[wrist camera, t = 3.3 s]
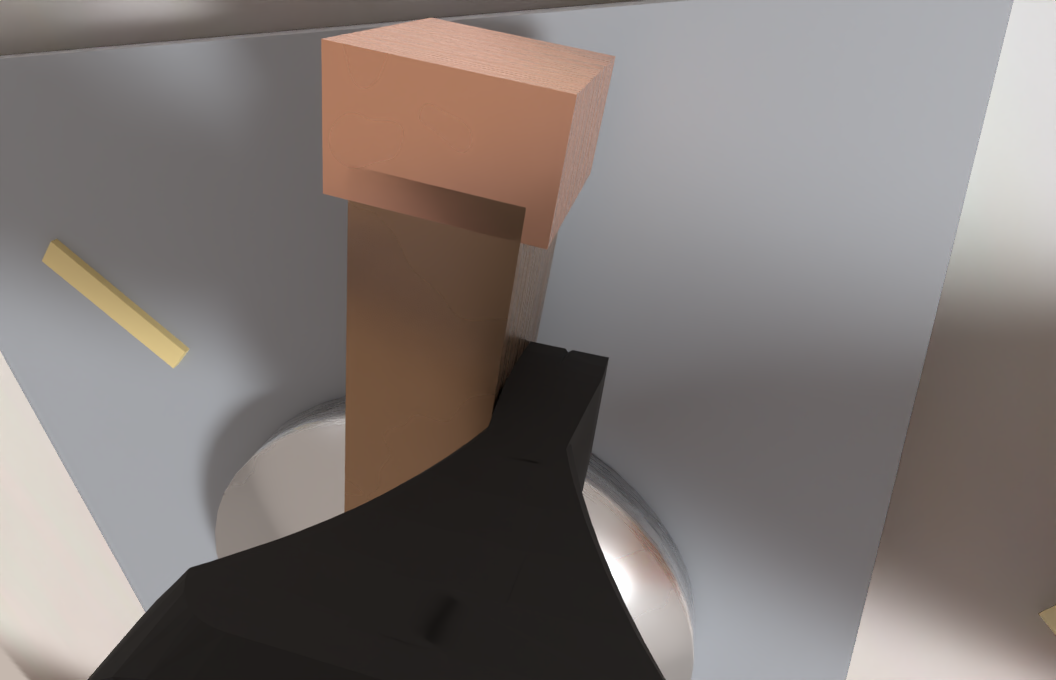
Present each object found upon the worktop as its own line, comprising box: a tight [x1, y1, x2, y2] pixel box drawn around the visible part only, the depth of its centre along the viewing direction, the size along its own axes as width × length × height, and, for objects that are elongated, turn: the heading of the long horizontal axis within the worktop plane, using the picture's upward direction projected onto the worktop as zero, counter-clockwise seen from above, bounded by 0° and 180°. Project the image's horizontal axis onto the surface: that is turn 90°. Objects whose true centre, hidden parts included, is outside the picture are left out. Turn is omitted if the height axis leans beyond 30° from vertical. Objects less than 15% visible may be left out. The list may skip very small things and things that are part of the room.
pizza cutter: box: [215, 18, 695, 680], centre depth 13 cm, size 19×12×4 cm, turn 171°
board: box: [0, 0, 1014, 680], centre depth 18 cm, size 26×21×2 cm
